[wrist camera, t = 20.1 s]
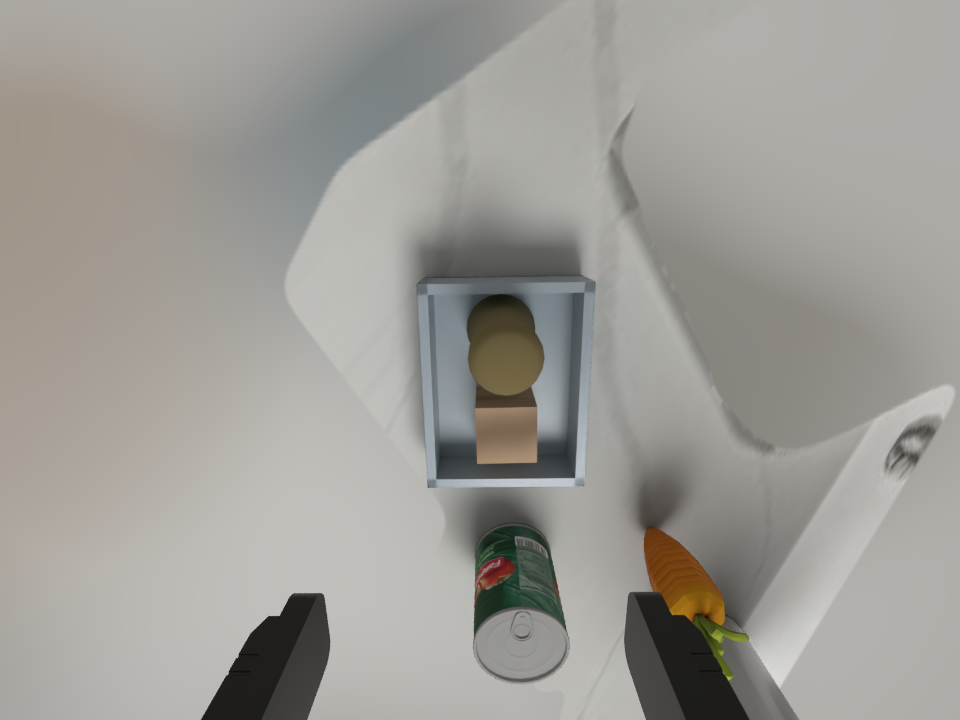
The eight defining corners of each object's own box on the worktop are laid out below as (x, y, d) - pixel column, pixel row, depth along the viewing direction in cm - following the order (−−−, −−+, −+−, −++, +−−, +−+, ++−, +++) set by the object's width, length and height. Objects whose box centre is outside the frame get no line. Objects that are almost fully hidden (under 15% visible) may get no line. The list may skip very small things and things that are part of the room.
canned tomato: (548, 586, 48) (566, 686, 38) (474, 584, 48) (472, 684, 38) (552, 522, 46) (573, 610, 35) (475, 521, 46) (473, 608, 36)
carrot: (634, 504, 45) (703, 632, 31) (681, 513, 46) (772, 644, 31) (619, 544, 47) (679, 685, 32) (665, 553, 47) (745, 697, 33)
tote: (573, 458, 44) (584, 486, 39) (433, 459, 44) (427, 487, 39) (581, 275, 39) (595, 281, 34) (424, 277, 39) (416, 284, 34)
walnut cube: (530, 436, 42) (536, 462, 38) (477, 437, 42) (477, 463, 38) (531, 386, 41) (537, 406, 36) (476, 387, 41) (475, 408, 36)
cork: (456, 307, 39) (446, 336, 28) (523, 284, 38) (538, 305, 28) (479, 370, 41) (478, 420, 30) (543, 349, 40) (565, 392, 29)
